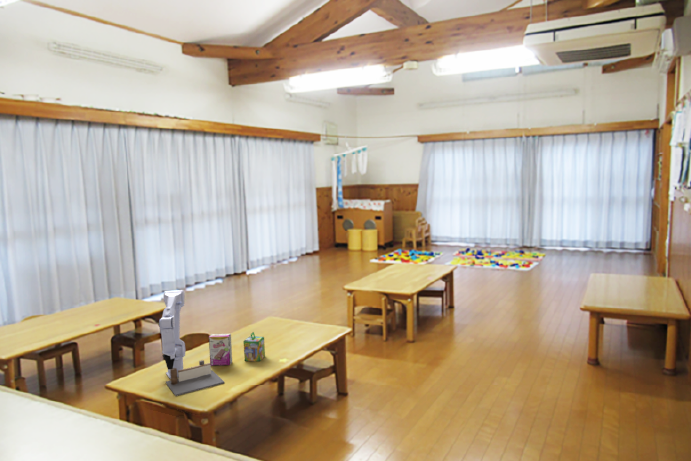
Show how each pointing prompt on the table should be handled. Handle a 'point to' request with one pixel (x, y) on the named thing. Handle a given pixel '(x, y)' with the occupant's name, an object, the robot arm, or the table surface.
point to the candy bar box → (220, 349)
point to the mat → (195, 384)
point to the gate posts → (174, 373)
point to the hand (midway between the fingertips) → (170, 368)
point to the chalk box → (254, 348)
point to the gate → (194, 372)
